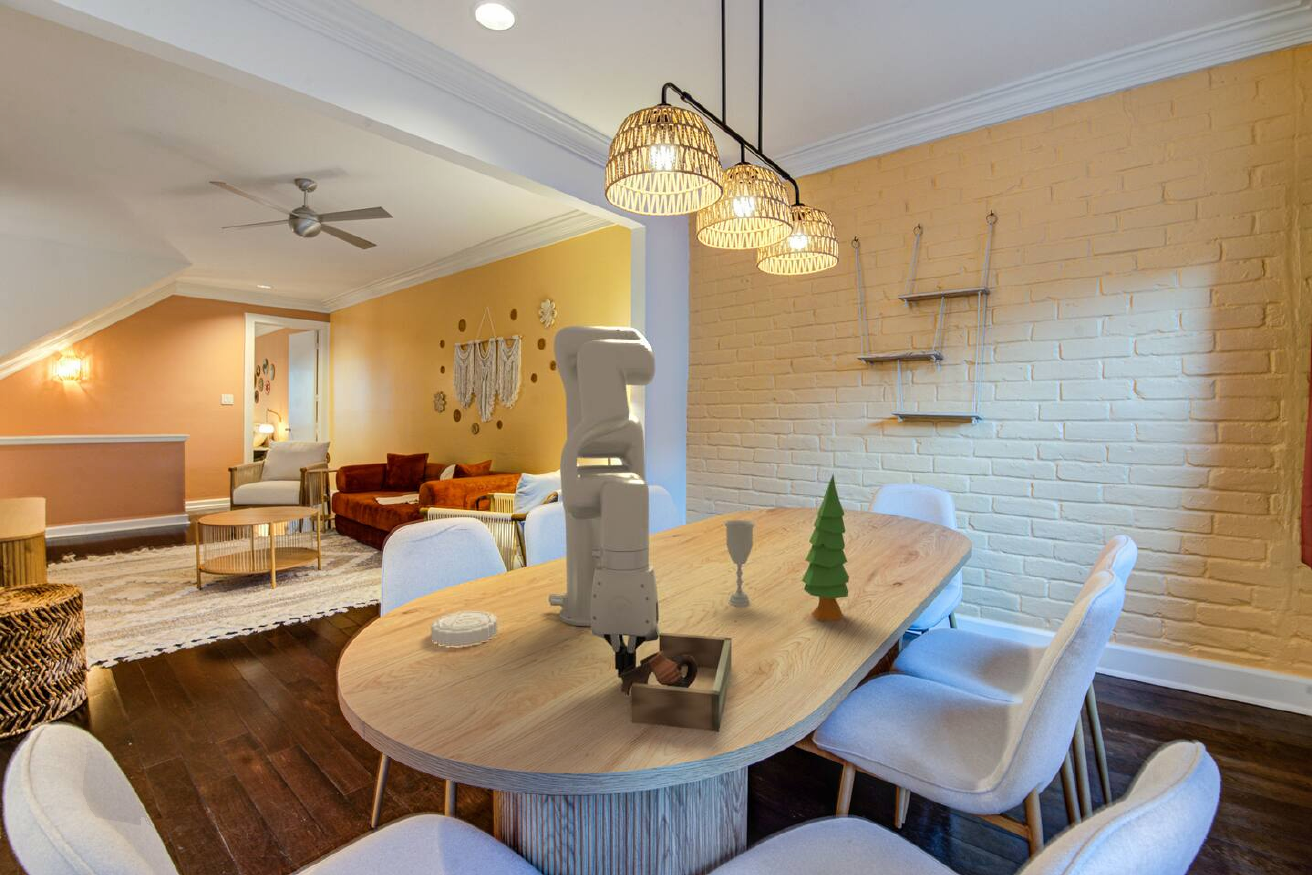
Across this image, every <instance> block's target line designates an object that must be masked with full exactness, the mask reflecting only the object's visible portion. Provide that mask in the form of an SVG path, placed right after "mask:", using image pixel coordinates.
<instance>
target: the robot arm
mask: <svg viewBox="0 0 1312 875" xmlns="http://www.w3.org/2000/svg"><path fill="white" fill-rule="evenodd" d="M553 352H554V353H553V355H554V360H555V366H556V367H557V368H556V369H557V371H558V375H559V377H560V379H561V382H562V384H563V388H564V392H565V398H566V399H565V407H566V408H565V409H566V410H565V411H566V441H565V443H564V446H563V447H562V451H561V455H560V464H559V465H560V466H559V467H560V468H559V469H560V470H559V471H560V472H559V473H560V474H559V475H560V486H561V488H560V491H561V500H562V506H563V509H564V516H565V517H564V519H565V520H564V521H565V544H566V552H565V553H566V555H565V558H566V559H565V560H566V592H565V593H563V594H559V593H550V594H549V597H548V602H549V605H550V606H551V607H552V606H553V607H560V608H561V609H560V610H559V614H558V615H559V620H561V622H562V623H564V622H565V624H567V625H571V626H577V627H590V628H591V635H592V636H595V637H598V638H600V639H604V640H605V641H606V643H608V644H609V645H610V646H611V649H612V651H613V652H614V669H615V670H617V673H618V674H617V678H618V679H619V678H620V677H619V675H620V674H621V673H622V672H623V671H624V670H626V669H627V668H628V667H630V666H631V665H634V666H635V668H636V667H637V649H638V648H639V647H640V646H641V645H643V644H644V643H645V642H653V641H657V640H659V635H660V633H661V632H660V630H659V624H658V623H659V615H660V613H659V612H660V611H659V608H660V607H659V598H658V597H659V596H658V589H657V588H658V586H657V580H656V574H655V569H654V566H653V565H651V564H650V491H649V486H648V483H647V482H646V464H645V463H646V462H645V460H646V459H645V439H644V431H643V430H644V429H643V426H642V423H641V421H640V420H639V418H638V417H637V416H636V415H634V414H632V413H630V408H629V400H628V393H627V386H647V385H649V384H650V383H651V382H652V381H653V379H654V377H655V372H656V359H655V356H654V352H653V349H652V346H651V345H650V343H649V341H648V340H647V339H646V338H645V337H644V336H643V335H642V334H641V333H640V332H639V331H638V330H637V329H634V328H632V327H621V326H600V325H599V326H598V325H572V326H571V325H569V326H565V327H563V328H560V329H558V331H557V332H556V334H555V335H554V340H553ZM578 459H586V460H587V459H591V460H592V459H598V460H599V459H618V460H620V462H621V464H606V465H605V464H589V465H586V464H585V465H579V466H578ZM624 636H625V637H626V636H627V639H628V640H627V644H626V643H625V639H624V638H625V637H624ZM620 679H621V678H620Z"/></svg>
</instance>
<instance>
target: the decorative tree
mask: <svg viewBox="0 0 1312 875" xmlns="http://www.w3.org/2000/svg"><path fill="white" fill-rule="evenodd" d="M818 509H819V510H818V511H817V513H816V515H817V516H816V519H815V522H814V523H813V526H814V527H815V528H814V530H813V533H812V535H811V537H810V539H809V541H808V542H809V543H810V544H812V546H811V548H810V549H809V552H808V554H807V556H806V558H805V560H804V561H805V562H807V563H809V565H808V566H807V568H806V571H805V573H804V575H803V577H802V580H801V582H803V583H805V586H804V588H803V590H804V592H806V593H808V594H809V595H810V596H813V597H817V598H818V603H817V604H818V605H817V606H816V608H815V609H814V610H813V611H812V612H811V616H812V617H813V618H815V619H816V620H817V621H823V620H824V621H823V622H841V619H842V618H843V616H844V615H843V612H842V610H841V607H840V605H839V603H838V602H837V599H839V598H841V599H842V598H848V597H849V589H848V585H847V583H849V581H850V580H849V579H850V575H849V574H848V572H847V570H846V568H845V564H846V563H848V559H847V556H846V555H845V552H844V549H846V547H845V546H846V544H845V540H844V535H843V534H845V533H846V527H845V526H846V525H845V522H844V517H843V516H845V511H844V508H843V506H842V503H841V501H840V498H839V495H838V491H837V488H836V483H835V474H834V473H833V474H832V476H831V478H830V480H829V482H828V485H827V488H826V491H825V494H824V497H823V500H822V503H821V505H820V507H819V508H818Z"/></svg>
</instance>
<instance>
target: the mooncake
mask: <svg viewBox="0 0 1312 875" xmlns="http://www.w3.org/2000/svg"><path fill="white" fill-rule="evenodd" d="M430 631H431V632H430V633H431V634H430V636H431V638H430V639H432V640H433V642H437V643H438V644H440V645H443V644H444V645H445V646H452V645H453V646H461V645H470V644H473V643H474V644H475V643H480V642H481V641H487V640H489V638H492V637H494V638H495V636H494V635H495V634H496V633H497V634H498V618H497V616H495V614H493V613H490V612H488V611H480V610H479V611H477V610H461V611H458V612H457V611H456V612H455V613H450V614H446V615H445V614H444V615H443V616H442V617H438V618H437V619H436V620H435V621H433V622H432V623H431V627H430ZM489 641H490V640H489ZM433 642H432V643H433Z"/></svg>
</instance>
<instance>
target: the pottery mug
mask: <svg viewBox="0 0 1312 875" xmlns="http://www.w3.org/2000/svg"><path fill="white" fill-rule="evenodd" d="M639 662H640V664H639V665H638V666H636V668H635V666H634V665H631V666H630V667H628V668H627V669H626V670H624V671H623V672H622V673H621V674H620V675H619V677H620V680H621V681H622V683H621V686H620V687H621V689H620V691H621V692H624V693H625V695H626V696H627V697H629V696H631V685H632V684H633V683H641V684H649V680H650V676H651V674H652V673H653V675H654V676H655V678H656V681H657V682H658V683H659V685H662V686H672V687H683V688H690V687H691V685H693V683H694V682H695V679H696V677H697V675H698V667H697V662H696V661H695V659H694V658H693V657H692V656H690V655H681V656H679V657H677V658H675V659H672V660H669V659H666V658H665V656H664V653H663V652H662V651H660V652H659V651H657V652H655V653H652V654H650V655H649V656H648V655H647V657H645V658H642V659H641V660H639ZM684 664H686V665H687V666H686V668H687V670H686V674H685V675H684V676H683V673H682V669H683V667H684V666H683V665H684Z"/></svg>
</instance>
